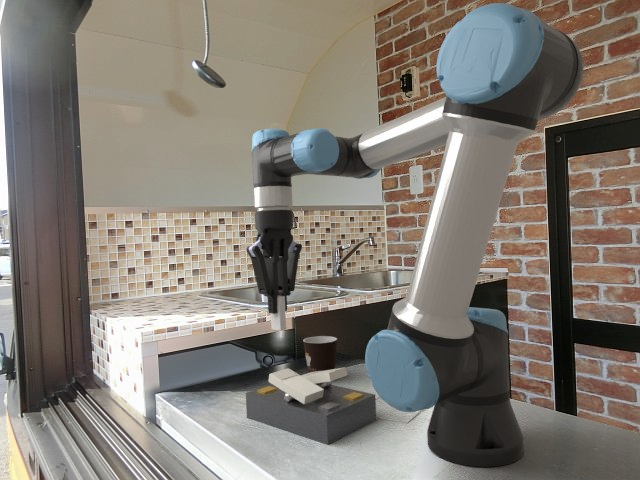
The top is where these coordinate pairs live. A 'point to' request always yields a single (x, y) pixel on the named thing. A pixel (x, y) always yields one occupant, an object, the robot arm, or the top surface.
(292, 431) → the switch unit
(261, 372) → the top surface
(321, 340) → the coffee mug
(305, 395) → the rocker left
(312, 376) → the rocker right
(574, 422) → the top surface
